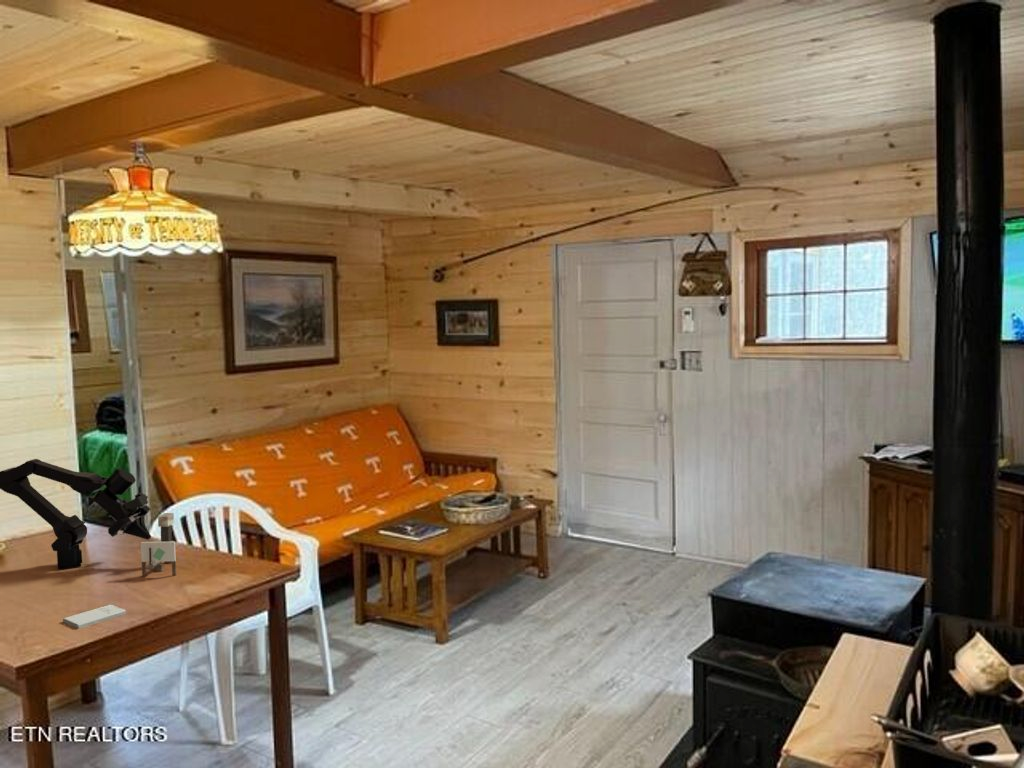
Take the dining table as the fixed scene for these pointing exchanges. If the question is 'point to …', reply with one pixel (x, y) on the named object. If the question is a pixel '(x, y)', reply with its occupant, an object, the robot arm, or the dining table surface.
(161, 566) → the peg stand
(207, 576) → the dining table surface
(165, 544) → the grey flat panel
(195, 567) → the dining table surface
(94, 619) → the external hard drive
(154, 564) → the block-topped post frame
